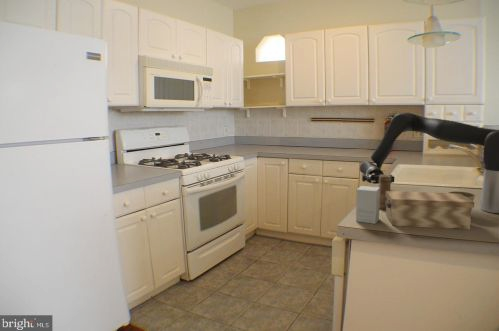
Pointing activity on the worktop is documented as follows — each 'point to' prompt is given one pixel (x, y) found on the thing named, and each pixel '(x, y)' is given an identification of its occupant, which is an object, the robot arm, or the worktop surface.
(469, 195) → the flower pot
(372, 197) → the supplement box
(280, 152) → the worktop surface
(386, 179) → the wooden block
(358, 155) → the worktop surface
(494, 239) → the worktop surface
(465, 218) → the wooden chest
